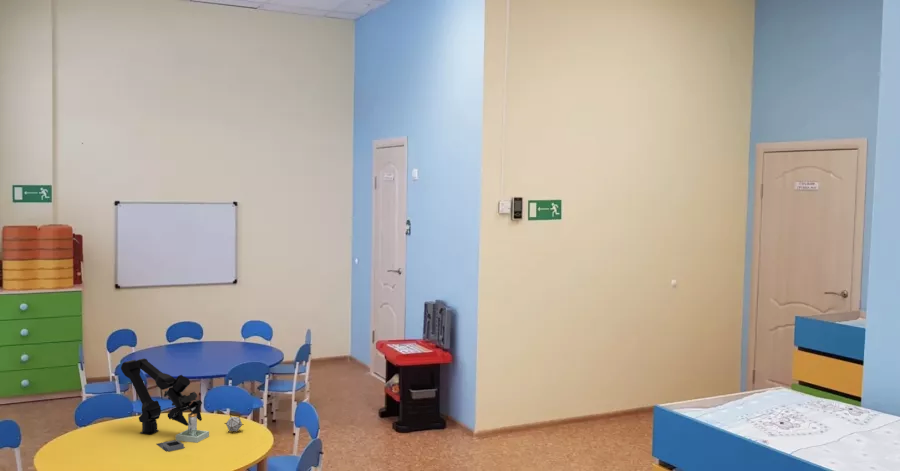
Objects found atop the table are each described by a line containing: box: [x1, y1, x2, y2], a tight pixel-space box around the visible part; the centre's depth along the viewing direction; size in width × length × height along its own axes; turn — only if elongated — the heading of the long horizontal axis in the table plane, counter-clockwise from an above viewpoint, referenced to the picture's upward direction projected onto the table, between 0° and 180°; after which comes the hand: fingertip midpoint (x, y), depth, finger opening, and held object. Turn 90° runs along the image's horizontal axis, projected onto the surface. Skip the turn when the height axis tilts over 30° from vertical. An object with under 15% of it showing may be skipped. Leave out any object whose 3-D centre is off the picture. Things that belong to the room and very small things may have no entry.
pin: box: [187, 413, 198, 437], centre depth 373 cm, size 4×4×12 cm
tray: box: [175, 428, 210, 443], centre depth 373 cm, size 12×10×4 cm
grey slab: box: [155, 439, 186, 452], centre depth 362 cm, size 15×9×3 cm, turn 40°
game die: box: [224, 415, 244, 433], centre depth 387 cm, size 9×8×10 cm
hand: (194, 422), depth 372 cm, fingers open, 9 cm apart
